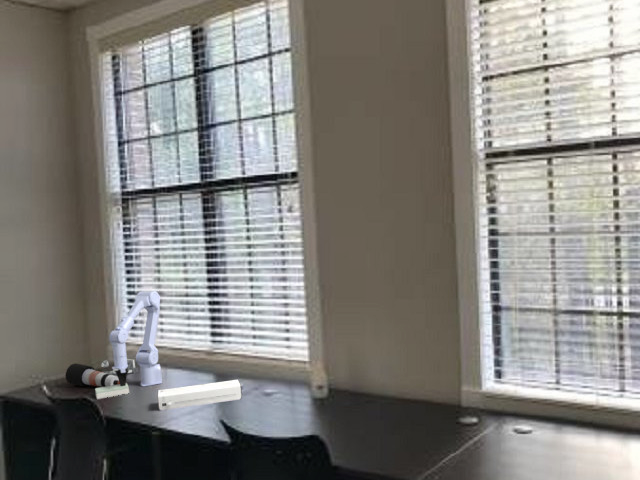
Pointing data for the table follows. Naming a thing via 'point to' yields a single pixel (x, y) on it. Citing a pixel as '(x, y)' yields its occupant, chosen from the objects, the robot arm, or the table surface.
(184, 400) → the laminator
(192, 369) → the table surface
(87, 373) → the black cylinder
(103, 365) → the phone holder
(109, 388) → the cover
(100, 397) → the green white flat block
